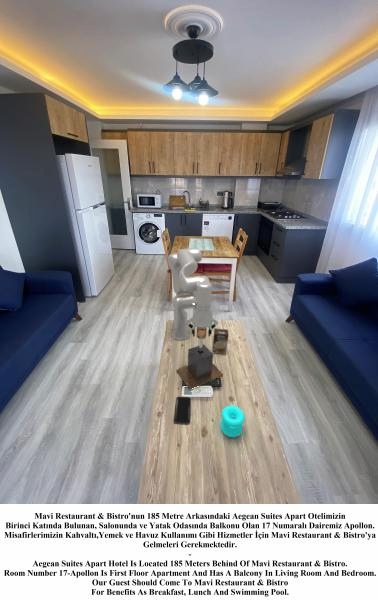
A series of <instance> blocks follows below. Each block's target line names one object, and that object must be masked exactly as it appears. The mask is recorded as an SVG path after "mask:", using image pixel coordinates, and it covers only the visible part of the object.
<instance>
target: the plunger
mask: <svg viewBox="0 0 378 600" xmlns="http://www.w3.org/2000/svg"><path fill="white" fill-rule="evenodd" d="M207 329H208V327H196V338H197V339H199V345H198V346H199V353H200V354H201V353H203V352H202V344H204V343H203V342H204V341H203V340H205V339H206V338H207Z"/></svg>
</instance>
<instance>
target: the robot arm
mask: <svg viewBox="0 0 378 600" xmlns="http://www.w3.org/2000/svg"><path fill="white" fill-rule="evenodd" d="M202 260H203V253H202V251H201V249H199V248H197V247H191V248H189V247H188V248H181V249H179V250H178V251H177V252H174V253H171V254H169V255H168V257H167V263H168V267H169V269H170V272H171V278H172V279H171V281H172V288H173V292H174V293H175V294H180V295H175V296H174V297H173V298H172V300H171V305H172V309H173V326H172V328H173V330H172V332H171V338H172V339H174V340H176V341H184V340H188V339H189V337H190V332H189V331H188V327H189V328H190V329H191V335H192V336H193V337H195V336H196V335H195V334H196V331H195V328H197V327H206V328H208V337H209V338H210V337H211V335H212V333H213V330H214V328H216V327H217V326H218V325H219V322H218V321H217V320H216V319H215V318H214V315H213V308H212V307H211V305H212V290H213V285H212V283H211V282H210V279H209V278H208V276H206V275H196V276H190V275H192V274H195V272H196V271H197V269H198V266H199V265H198V264H199V263H200V262H201V261H202ZM187 309H193V312H192V317H191V318H189V319H188V312H187V311H186V310H187Z"/></svg>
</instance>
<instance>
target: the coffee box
mask: <svg viewBox="0 0 378 600" xmlns="http://www.w3.org/2000/svg"><path fill="white" fill-rule="evenodd" d="M228 342H229V329H223V328H216V327H215V328H213V338H212V346H211V347H212V348H211V352H212V353H213V355H220V356H221V355H222V356H227V349H228V344H229V343H228Z"/></svg>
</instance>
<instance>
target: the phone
mask: <svg viewBox="0 0 378 600" xmlns="http://www.w3.org/2000/svg"><path fill="white" fill-rule="evenodd" d="M191 406H192V397H191V396H177V397H175V405H174V414H173V424H175V425H190V424H191V410H192V407H191Z"/></svg>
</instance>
